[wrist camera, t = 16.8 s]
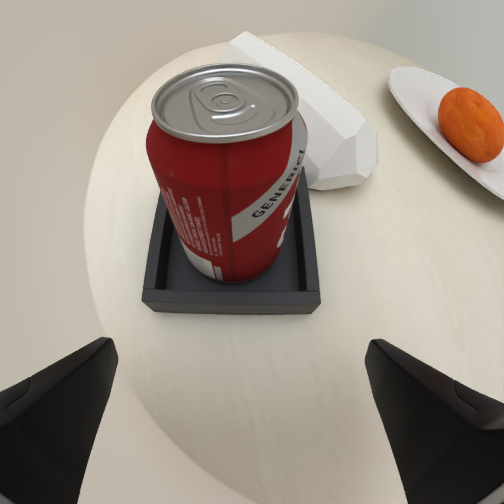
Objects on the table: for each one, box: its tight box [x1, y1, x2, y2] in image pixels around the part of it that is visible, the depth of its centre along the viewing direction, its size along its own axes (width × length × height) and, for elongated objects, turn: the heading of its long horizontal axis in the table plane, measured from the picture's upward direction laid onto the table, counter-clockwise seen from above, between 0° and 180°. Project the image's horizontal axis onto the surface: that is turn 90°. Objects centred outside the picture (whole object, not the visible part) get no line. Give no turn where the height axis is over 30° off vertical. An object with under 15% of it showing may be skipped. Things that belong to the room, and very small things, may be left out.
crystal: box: [218, 31, 378, 191], centre depth 25 cm, size 7×7×24 cm
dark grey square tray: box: [142, 166, 321, 315], centre depth 19 cm, size 11×11×3 cm
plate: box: [388, 67, 504, 200], centre depth 25 cm, size 28×28×9 cm
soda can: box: [146, 63, 308, 283], centre depth 14 cm, size 7×7×12 cm
